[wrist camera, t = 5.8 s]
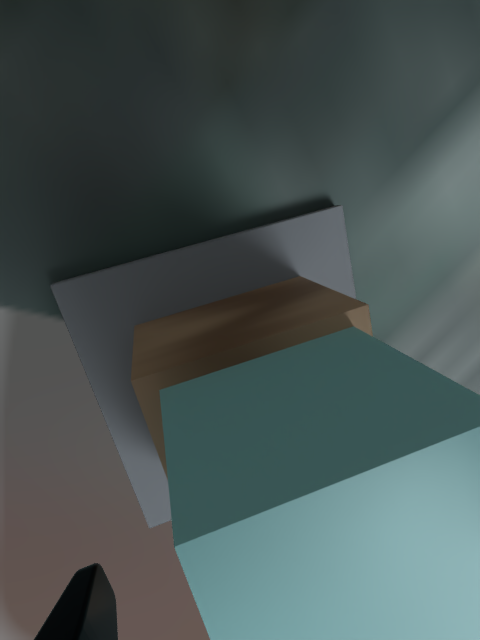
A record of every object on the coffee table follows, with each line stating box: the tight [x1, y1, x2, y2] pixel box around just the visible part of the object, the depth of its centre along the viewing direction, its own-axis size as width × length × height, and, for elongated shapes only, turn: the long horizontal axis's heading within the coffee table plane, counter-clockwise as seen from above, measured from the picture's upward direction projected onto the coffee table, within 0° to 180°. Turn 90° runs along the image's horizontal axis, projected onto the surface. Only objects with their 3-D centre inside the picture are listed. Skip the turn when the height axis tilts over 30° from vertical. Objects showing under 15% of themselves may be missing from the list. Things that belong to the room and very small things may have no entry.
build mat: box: [50, 205, 356, 528], centre depth 15 cm, size 10×10×1 cm
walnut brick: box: [131, 276, 373, 480], centre depth 12 cm, size 6×6×4 cm
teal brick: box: [159, 326, 480, 640], centre depth 8 cm, size 5×5×4 cm
